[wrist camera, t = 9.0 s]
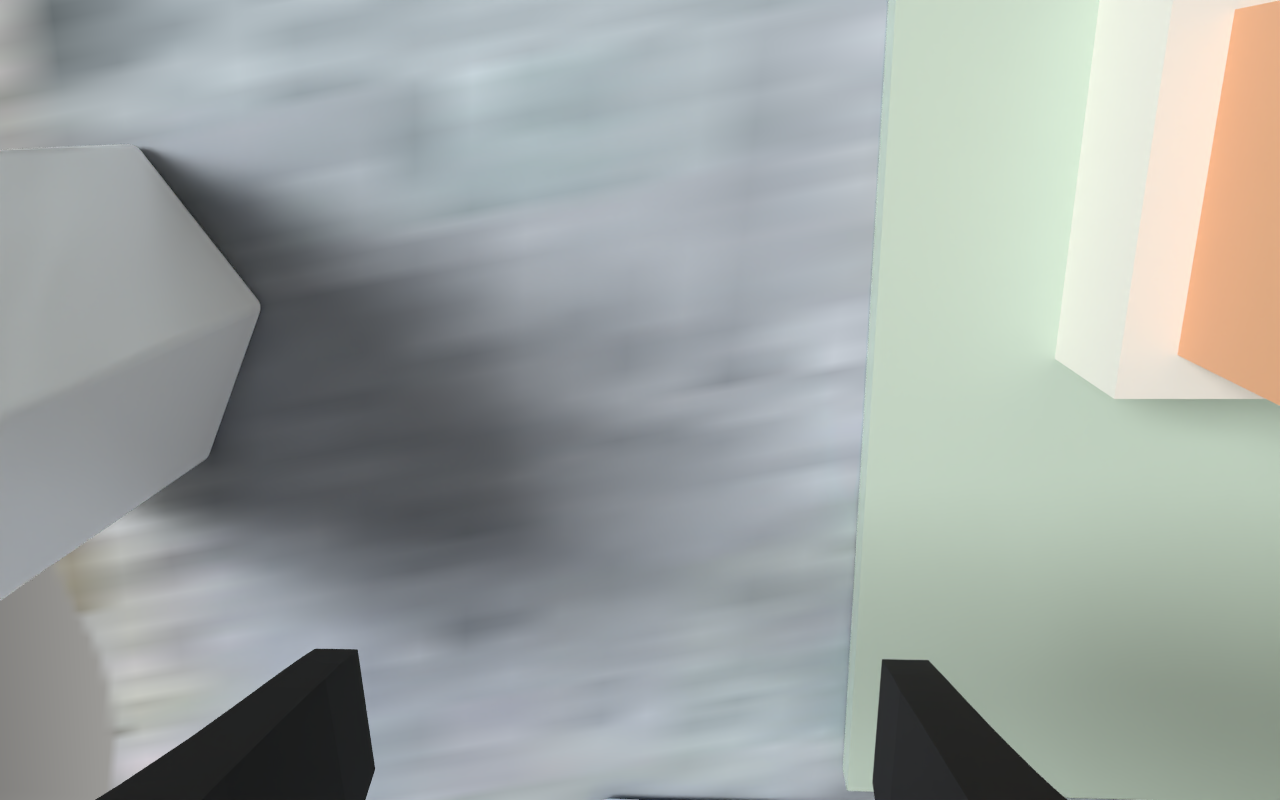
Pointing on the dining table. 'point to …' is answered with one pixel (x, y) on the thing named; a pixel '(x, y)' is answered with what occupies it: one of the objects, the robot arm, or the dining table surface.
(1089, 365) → the base brick
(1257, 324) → the top brick
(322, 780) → the robot arm
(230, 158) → the dining table surface
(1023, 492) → the baseplate
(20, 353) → the jar
